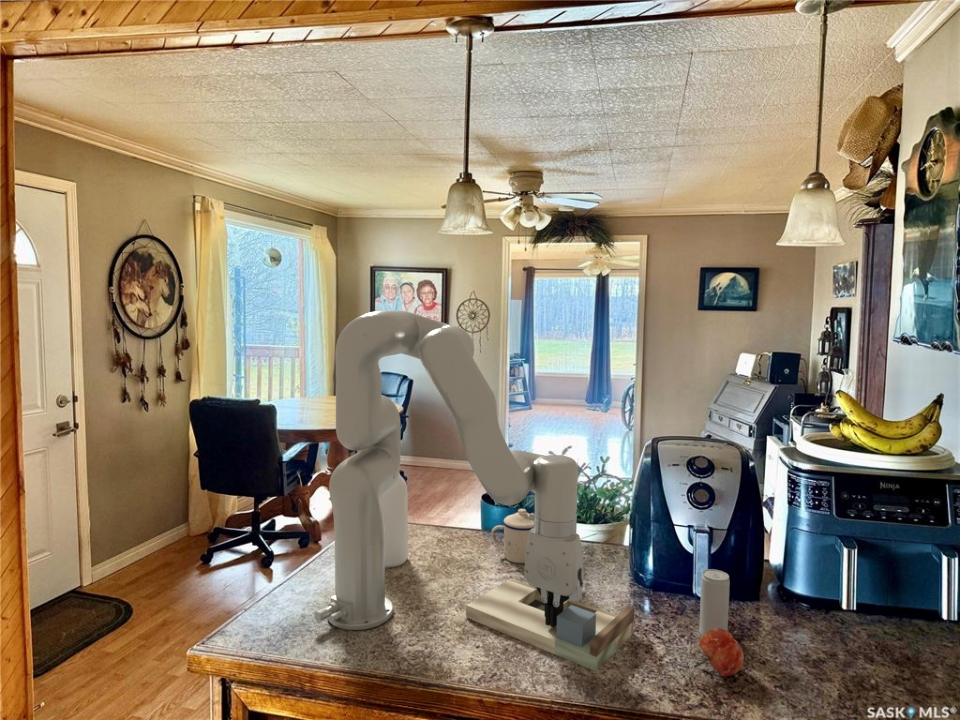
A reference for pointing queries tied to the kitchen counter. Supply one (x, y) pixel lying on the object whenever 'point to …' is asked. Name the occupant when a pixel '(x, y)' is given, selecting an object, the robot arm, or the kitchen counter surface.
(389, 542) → the alcohol
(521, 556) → the teacup with lid
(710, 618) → the beverage can
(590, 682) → the kitchen counter surface
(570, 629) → the slate block
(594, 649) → the board
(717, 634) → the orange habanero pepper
